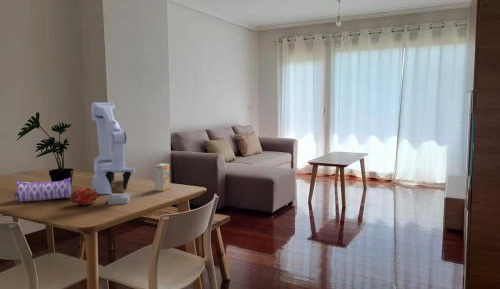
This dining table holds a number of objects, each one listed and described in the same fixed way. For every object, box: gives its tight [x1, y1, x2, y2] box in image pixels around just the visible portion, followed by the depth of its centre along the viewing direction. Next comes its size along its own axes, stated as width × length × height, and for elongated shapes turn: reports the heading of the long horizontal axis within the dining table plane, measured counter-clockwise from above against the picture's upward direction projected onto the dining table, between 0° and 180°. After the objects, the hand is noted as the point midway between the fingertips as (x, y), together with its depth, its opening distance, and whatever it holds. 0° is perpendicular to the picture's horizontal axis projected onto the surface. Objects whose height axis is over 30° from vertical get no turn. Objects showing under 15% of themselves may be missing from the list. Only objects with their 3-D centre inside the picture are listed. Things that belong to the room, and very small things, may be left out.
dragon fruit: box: [69, 186, 100, 207], centre depth 160 cm, size 8×8×12 cm
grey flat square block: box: [107, 193, 131, 205], centre depth 165 cm, size 8×8×3 cm
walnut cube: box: [111, 179, 128, 194], centre depth 165 cm, size 5×5×5 cm
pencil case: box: [13, 177, 72, 203], centre depth 168 cm, size 22×9×10 cm, turn 111°
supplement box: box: [154, 163, 171, 192], centre depth 189 cm, size 8×5×13 cm, turn 169°
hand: (118, 188), depth 165 cm, fingers closed on walnut cube, 5 cm apart
